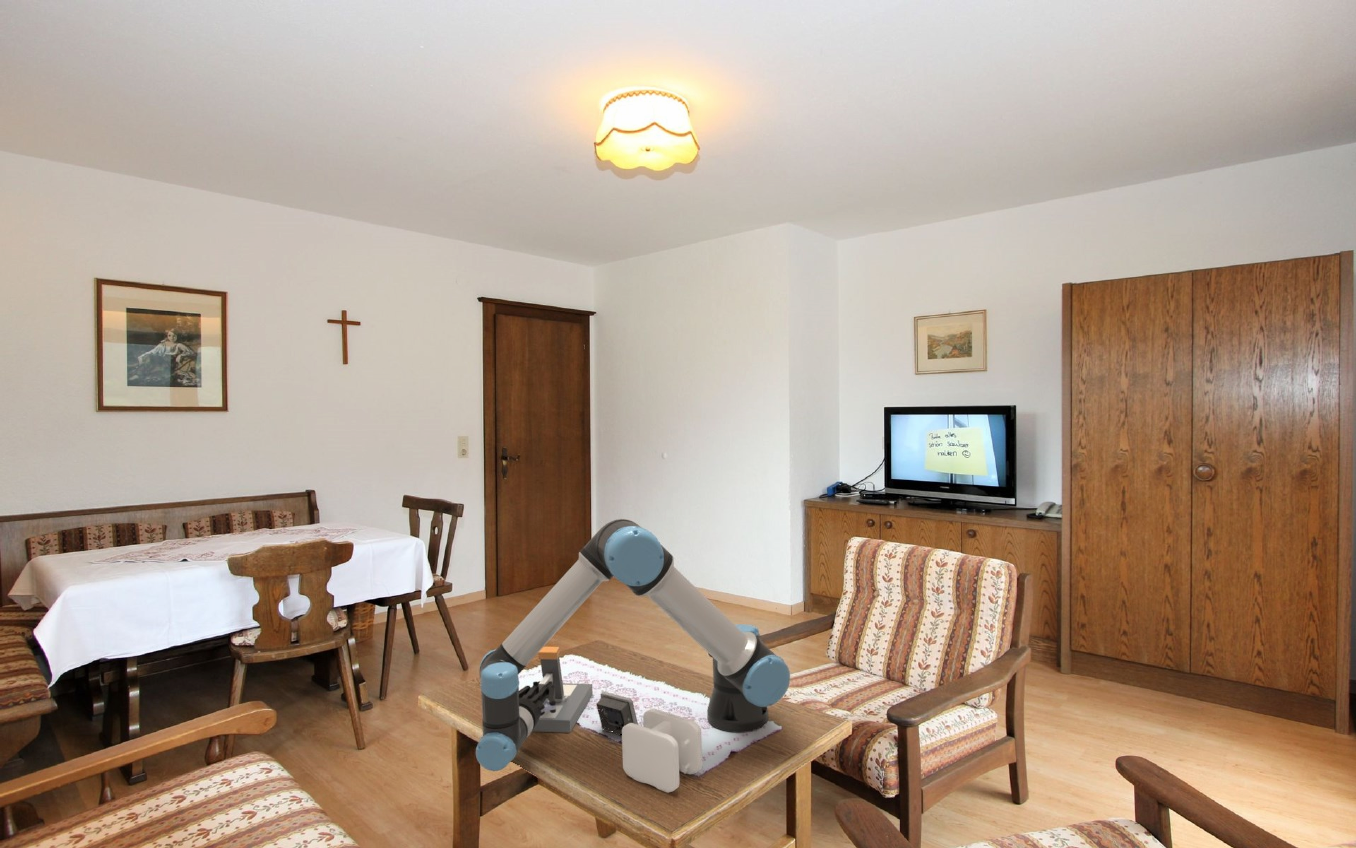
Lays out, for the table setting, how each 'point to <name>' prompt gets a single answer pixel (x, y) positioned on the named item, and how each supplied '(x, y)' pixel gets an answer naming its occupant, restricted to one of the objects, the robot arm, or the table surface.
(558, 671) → the breaker lever
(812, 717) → the table surface
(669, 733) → the cable organizer
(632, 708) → the electrical switch
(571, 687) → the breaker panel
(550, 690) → the robot arm
